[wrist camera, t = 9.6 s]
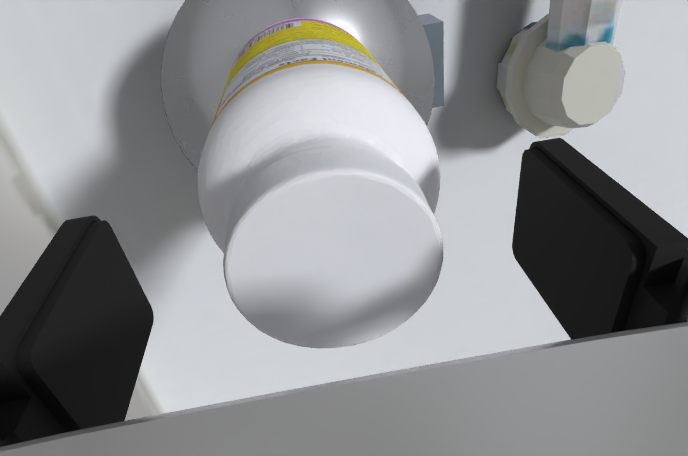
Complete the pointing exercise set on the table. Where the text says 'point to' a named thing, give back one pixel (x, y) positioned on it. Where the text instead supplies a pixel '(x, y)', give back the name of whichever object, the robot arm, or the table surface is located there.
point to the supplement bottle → (320, 189)
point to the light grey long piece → (563, 68)
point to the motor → (275, 6)
